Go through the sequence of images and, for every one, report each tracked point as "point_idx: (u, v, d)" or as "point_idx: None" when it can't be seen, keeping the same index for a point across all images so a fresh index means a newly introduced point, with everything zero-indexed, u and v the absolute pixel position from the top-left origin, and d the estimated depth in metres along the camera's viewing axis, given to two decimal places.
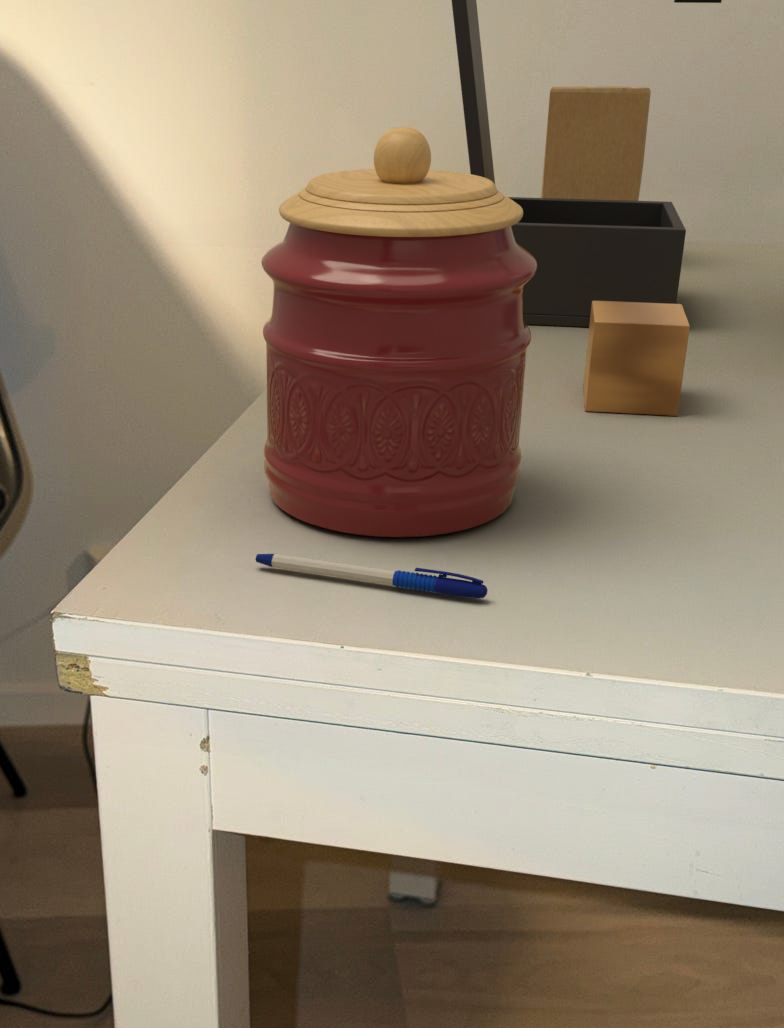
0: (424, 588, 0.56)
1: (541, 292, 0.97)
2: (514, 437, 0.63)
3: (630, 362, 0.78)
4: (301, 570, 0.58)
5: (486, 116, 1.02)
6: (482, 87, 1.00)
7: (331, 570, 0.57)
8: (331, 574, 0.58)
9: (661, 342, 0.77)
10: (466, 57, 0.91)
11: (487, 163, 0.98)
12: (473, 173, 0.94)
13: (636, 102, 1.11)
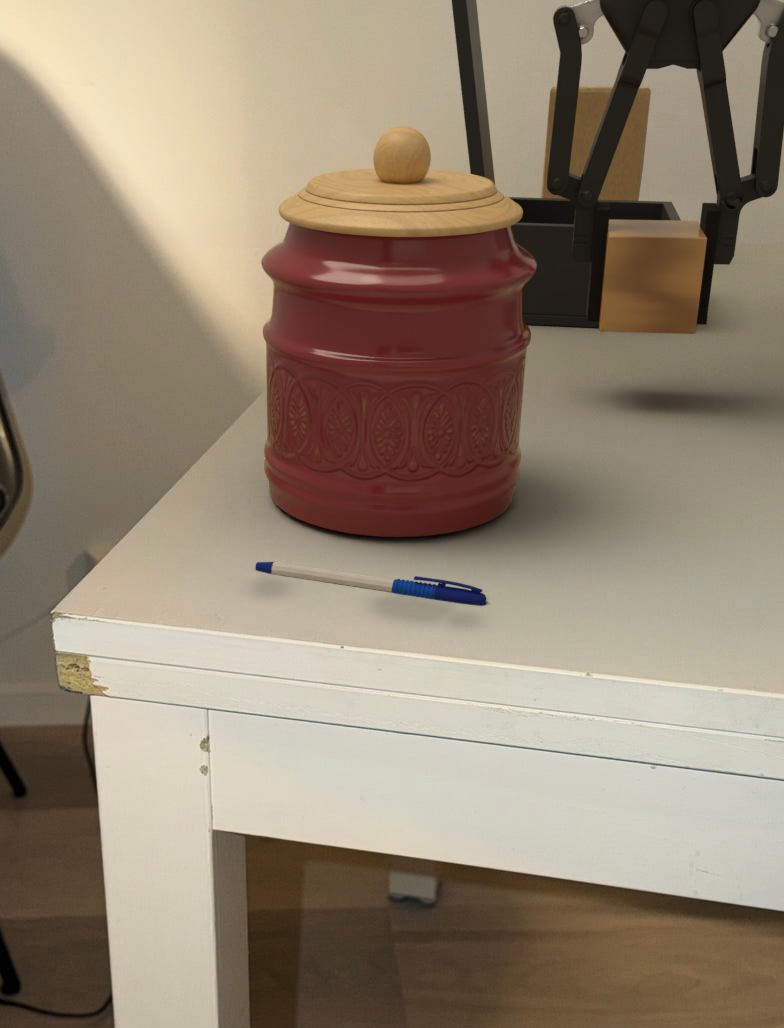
0: (424, 596, 0.56)
1: (541, 292, 0.97)
2: (514, 437, 0.63)
3: (646, 279, 0.76)
4: None
5: (486, 116, 1.02)
6: (482, 87, 1.00)
7: (330, 578, 0.58)
8: (330, 582, 0.58)
9: (677, 257, 0.75)
10: (466, 57, 0.91)
11: (487, 163, 0.98)
12: (473, 173, 0.94)
13: (636, 102, 1.11)
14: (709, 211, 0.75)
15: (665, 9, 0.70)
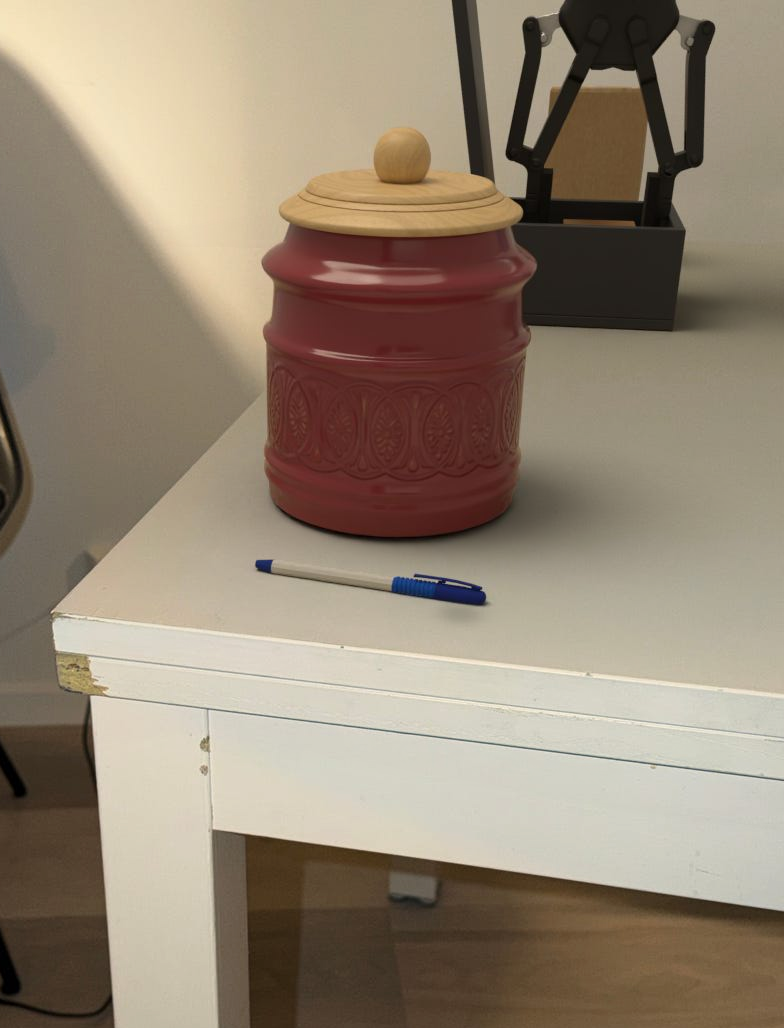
0: (423, 594, 0.56)
1: (541, 292, 0.97)
2: (514, 437, 0.63)
3: None
4: (300, 576, 0.58)
5: (486, 116, 1.02)
6: (482, 87, 1.00)
7: (330, 576, 0.57)
8: (330, 580, 0.58)
9: None
10: (466, 57, 0.91)
11: (487, 163, 0.98)
12: (473, 173, 0.94)
13: (636, 102, 1.11)
14: (651, 177, 0.97)
15: (607, 25, 0.92)
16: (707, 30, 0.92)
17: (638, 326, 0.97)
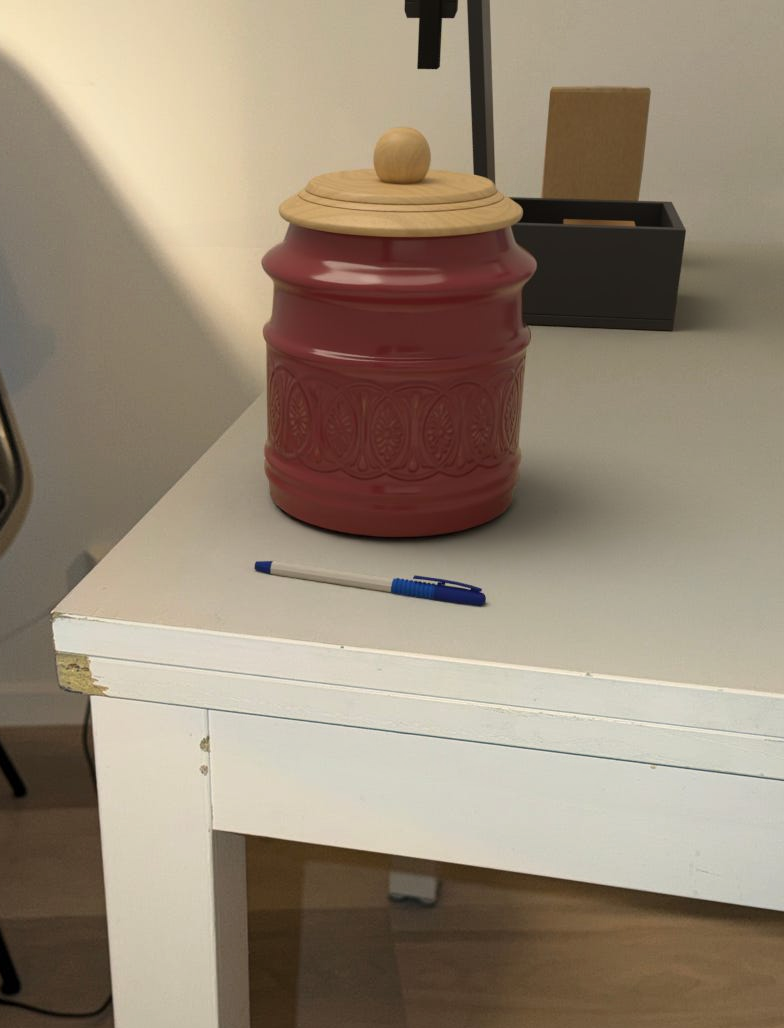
0: (423, 596, 0.56)
1: (541, 292, 0.97)
2: (514, 437, 0.63)
3: None
4: (300, 577, 0.58)
5: None
6: (490, 86, 1.00)
7: (330, 577, 0.57)
8: (330, 581, 0.58)
9: None
10: (477, 56, 0.91)
11: (490, 163, 0.98)
12: (476, 172, 0.94)
13: (636, 102, 1.11)
14: None
15: None
16: None
17: (638, 326, 0.97)
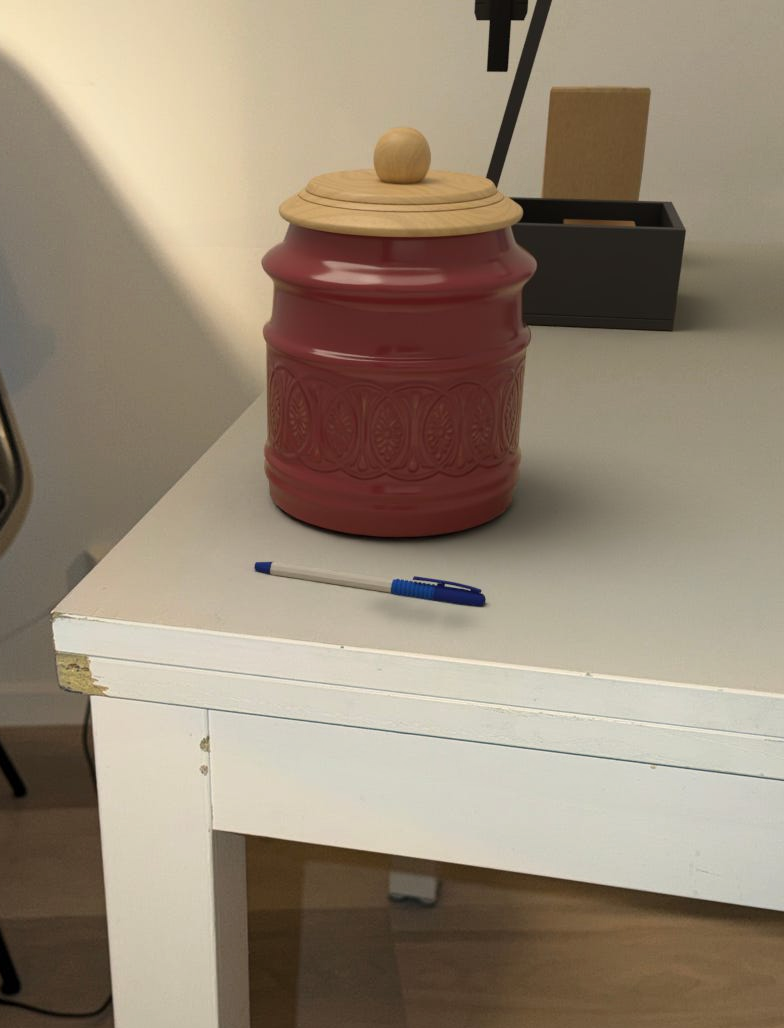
0: (423, 597, 0.56)
1: (541, 292, 0.97)
2: (514, 437, 0.63)
3: None
4: (299, 578, 0.58)
5: None
6: None
7: (329, 578, 0.57)
8: (329, 582, 0.58)
9: None
10: (528, 60, 0.90)
11: None
12: (490, 172, 0.94)
13: (636, 102, 1.11)
14: None
15: None
16: None
17: (638, 326, 0.97)
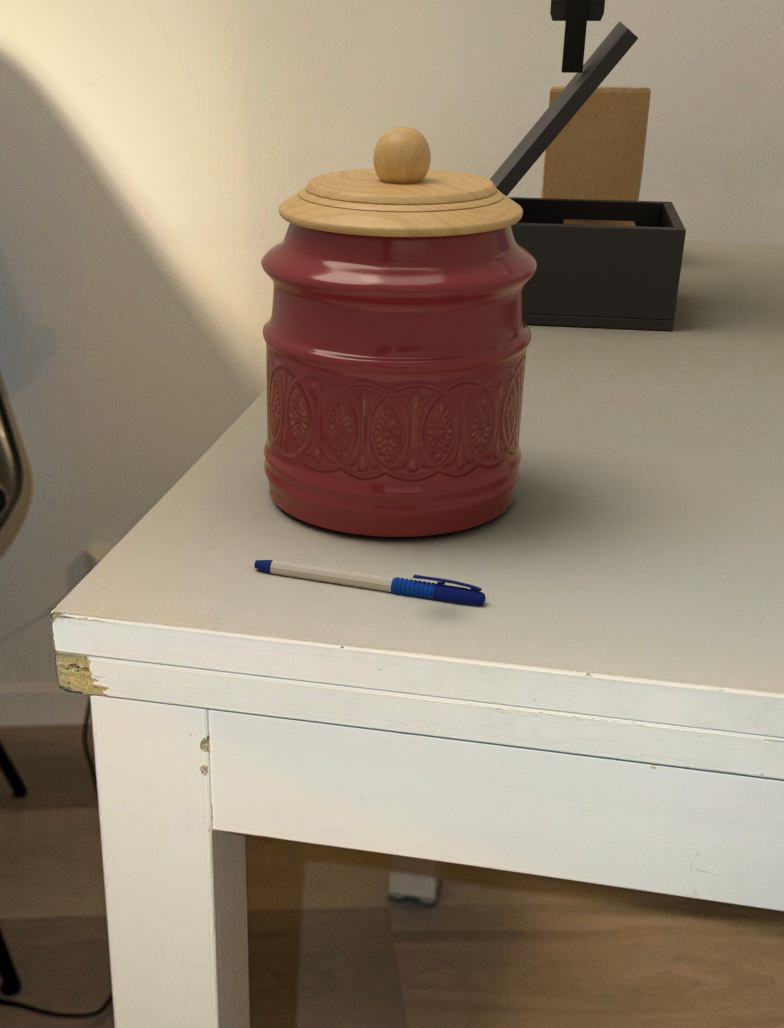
0: (423, 595, 0.56)
1: (541, 292, 0.97)
2: (514, 437, 0.63)
3: None
4: (299, 576, 0.58)
5: None
6: None
7: (329, 576, 0.57)
8: (329, 580, 0.57)
9: None
10: (585, 92, 0.91)
11: None
12: (506, 179, 0.94)
13: (636, 102, 1.11)
14: None
15: None
16: None
17: (638, 326, 0.97)
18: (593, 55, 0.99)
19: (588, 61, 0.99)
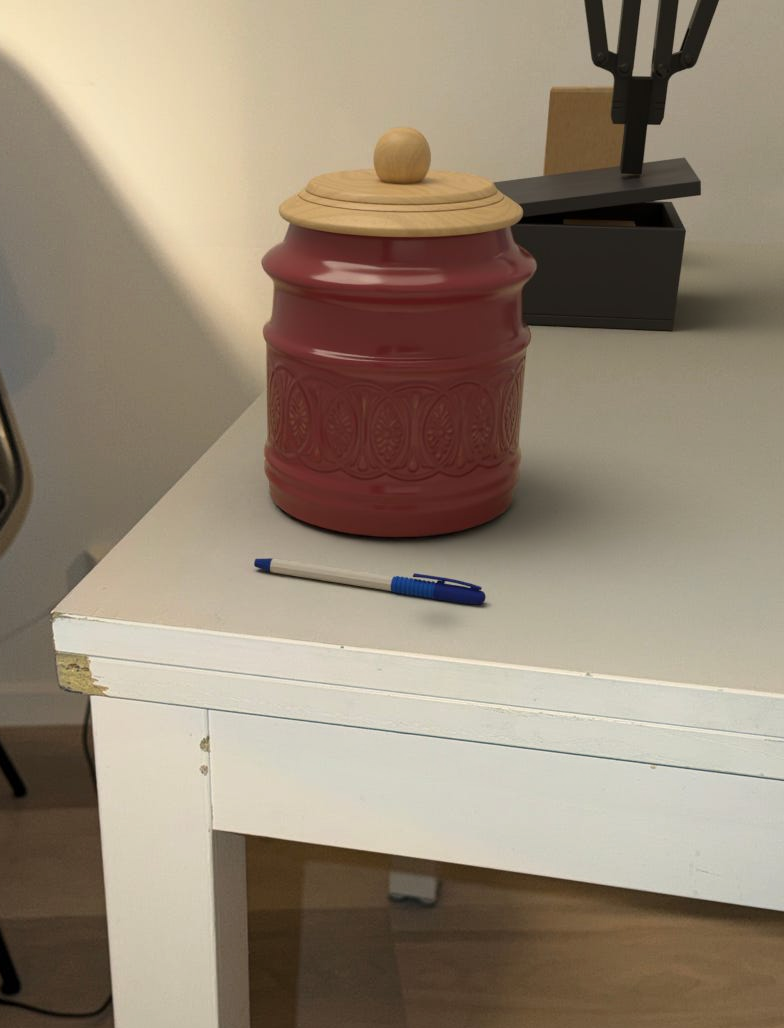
0: (422, 594, 0.56)
1: (541, 292, 0.97)
2: (514, 437, 0.63)
3: None
4: (299, 575, 0.58)
5: None
6: None
7: (329, 575, 0.57)
8: (329, 579, 0.57)
9: None
10: (632, 198, 0.93)
11: None
12: (523, 206, 0.95)
13: None
14: (643, 79, 0.94)
15: None
16: None
17: (638, 326, 0.97)
18: (648, 166, 1.02)
19: None
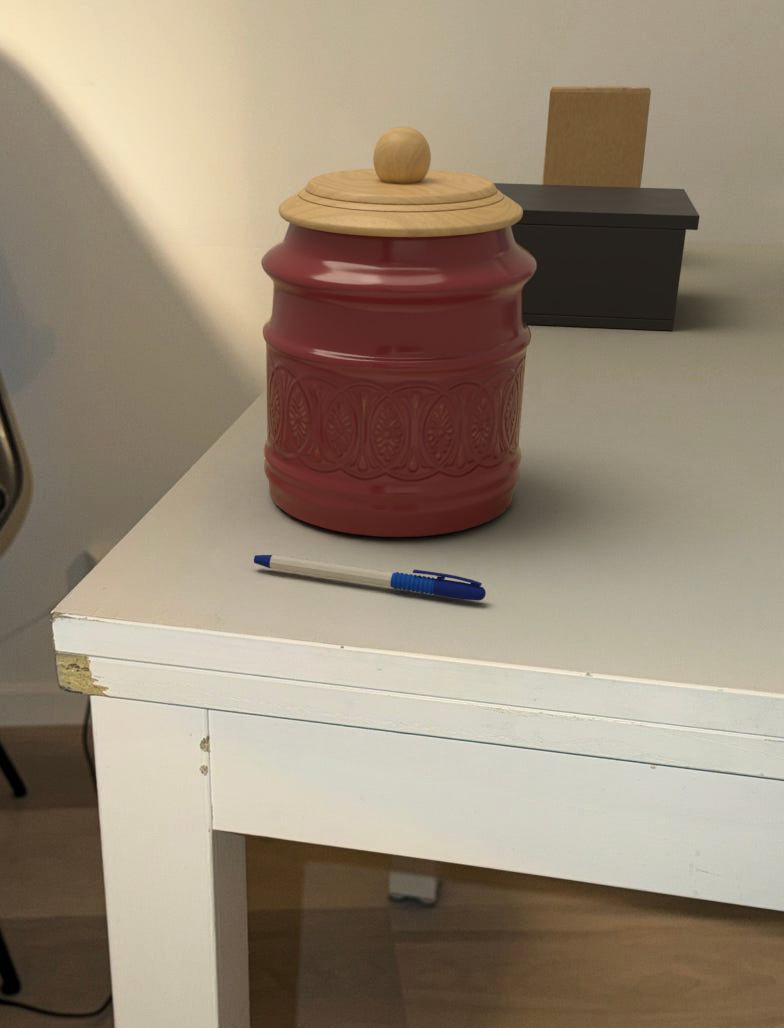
0: (423, 590, 0.56)
1: (541, 292, 0.97)
2: (514, 437, 0.63)
3: None
4: (299, 571, 0.58)
5: None
6: None
7: (329, 571, 0.57)
8: (329, 575, 0.57)
9: None
10: (631, 222, 0.94)
11: None
12: (523, 212, 0.95)
13: (636, 102, 1.11)
14: None
15: None
16: None
17: (638, 326, 0.97)
18: (648, 192, 1.03)
19: (641, 191, 1.03)
